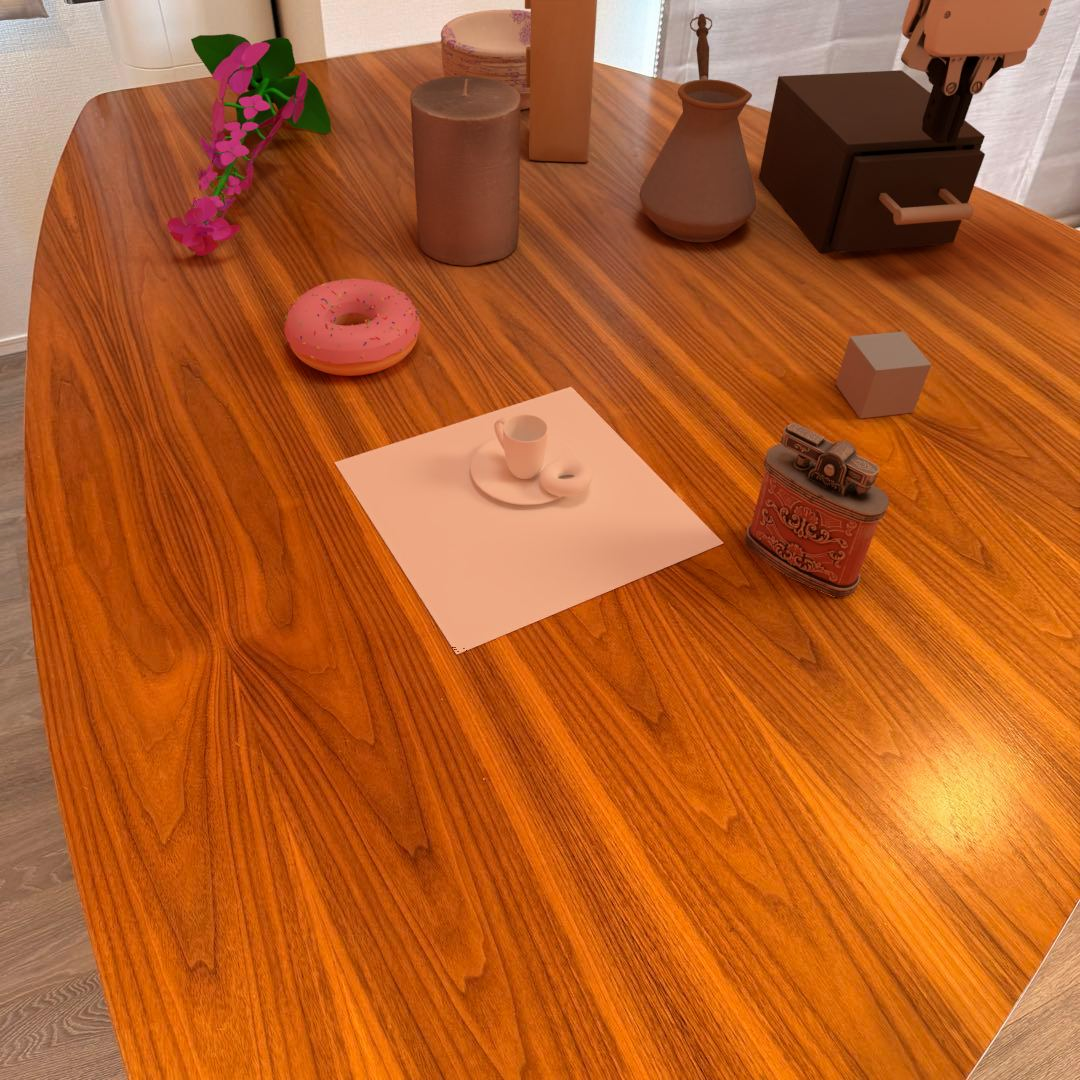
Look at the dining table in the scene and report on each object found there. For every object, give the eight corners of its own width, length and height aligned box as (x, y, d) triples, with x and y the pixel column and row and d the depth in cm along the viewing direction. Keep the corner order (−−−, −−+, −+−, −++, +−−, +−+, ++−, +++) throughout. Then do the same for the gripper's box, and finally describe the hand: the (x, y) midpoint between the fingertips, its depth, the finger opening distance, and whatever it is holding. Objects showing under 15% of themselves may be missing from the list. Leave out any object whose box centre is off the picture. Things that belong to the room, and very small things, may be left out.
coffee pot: (758, 255, 93) (791, 94, 83) (638, 250, 94) (656, 88, 83) (734, 160, 109) (759, 13, 98) (631, 155, 109) (645, 8, 98)
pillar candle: (442, 211, 98) (435, 53, 87) (533, 229, 96) (537, 69, 85) (400, 255, 91) (388, 91, 81) (497, 276, 89) (497, 109, 79)
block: (887, 378, 80) (903, 330, 76) (913, 413, 76) (932, 364, 73) (835, 384, 79) (849, 336, 76) (859, 419, 76) (875, 370, 72)
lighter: (866, 578, 64) (912, 462, 56) (840, 607, 62) (884, 490, 55) (761, 520, 67) (792, 403, 60) (734, 545, 65) (762, 428, 58)
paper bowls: (417, 98, 119) (413, 27, 113) (500, 65, 127) (500, -1, 121) (511, 134, 112) (511, 61, 106) (592, 97, 120) (596, 28, 115)
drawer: (978, 267, 91) (1013, 176, 85) (856, 278, 89) (883, 185, 83) (882, 173, 105) (906, 89, 99) (774, 180, 103) (792, 95, 97)
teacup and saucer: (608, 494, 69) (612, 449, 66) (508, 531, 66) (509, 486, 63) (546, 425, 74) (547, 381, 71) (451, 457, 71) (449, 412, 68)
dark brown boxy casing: (947, 242, 96) (985, 136, 89) (820, 253, 94) (847, 144, 87) (873, 170, 108) (901, 69, 100) (758, 177, 106) (778, 75, 98)
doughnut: (317, 400, 75) (310, 355, 72) (269, 331, 82) (260, 287, 79) (444, 362, 79) (442, 317, 76) (388, 298, 86) (384, 255, 83)
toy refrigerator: (524, 131, 112) (528, -79, 98) (588, 134, 112) (601, -76, 97) (521, 161, 107) (524, -57, 92) (588, 164, 107) (601, -54, 92)
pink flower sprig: (319, 146, 117) (271, 326, 94) (182, 73, 110) (94, 248, 87) (362, 56, 109) (319, 229, 86) (217, -28, 102) (129, 135, 79)
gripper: (1079, -125, 75) (992, 115, 88) (903, -125, 73) (840, 123, 86) (1140, -102, 70) (1038, 150, 83) (952, -100, 68) (878, 159, 81)
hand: (938, 136), depth 84 cm, fingers closed
